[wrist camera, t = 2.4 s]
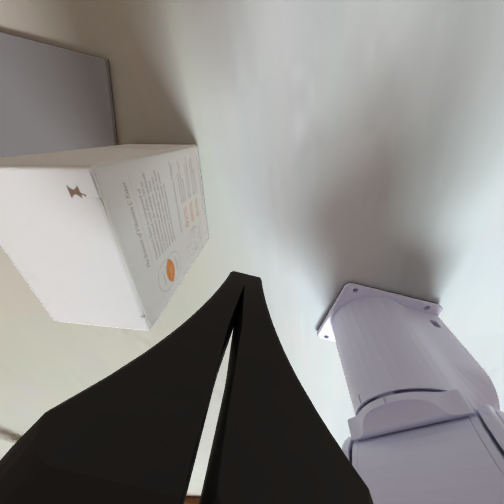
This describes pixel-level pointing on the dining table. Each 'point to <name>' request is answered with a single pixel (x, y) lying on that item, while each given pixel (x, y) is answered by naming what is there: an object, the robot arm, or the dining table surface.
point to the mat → (52, 99)
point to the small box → (104, 229)
